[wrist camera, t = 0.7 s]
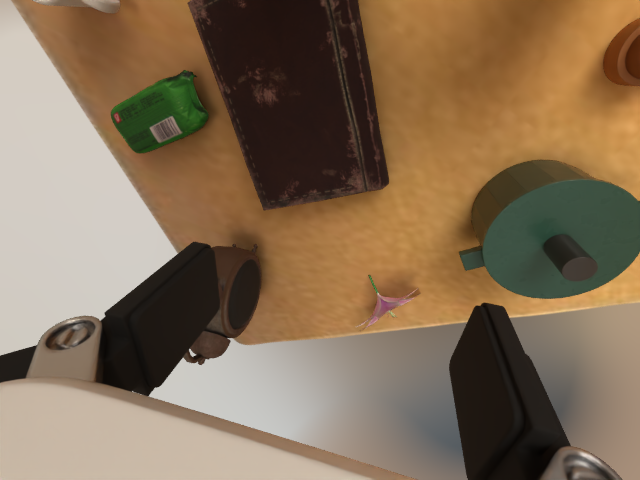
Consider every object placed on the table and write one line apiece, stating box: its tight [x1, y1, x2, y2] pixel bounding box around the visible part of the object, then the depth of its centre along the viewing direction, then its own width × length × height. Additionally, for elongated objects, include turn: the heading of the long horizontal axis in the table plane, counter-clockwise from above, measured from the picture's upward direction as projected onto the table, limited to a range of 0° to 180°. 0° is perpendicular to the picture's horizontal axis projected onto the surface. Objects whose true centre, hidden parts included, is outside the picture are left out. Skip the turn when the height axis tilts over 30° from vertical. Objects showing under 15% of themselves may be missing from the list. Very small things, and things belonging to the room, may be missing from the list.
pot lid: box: [481, 178, 640, 299], centre depth 31 cm, size 15×15×6 cm
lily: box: [356, 275, 419, 331], centre depth 48 cm, size 12×12×10 cm
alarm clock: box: [183, 244, 261, 365], centre depth 47 cm, size 15×7×20 cm, turn 179°
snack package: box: [111, 70, 209, 153], centre depth 42 cm, size 7×16×5 cm, turn 111°
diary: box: [188, 0, 389, 210], centre depth 37 cm, size 19×25×5 cm
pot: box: [459, 160, 640, 271], centre depth 36 cm, size 14×19×8 cm
